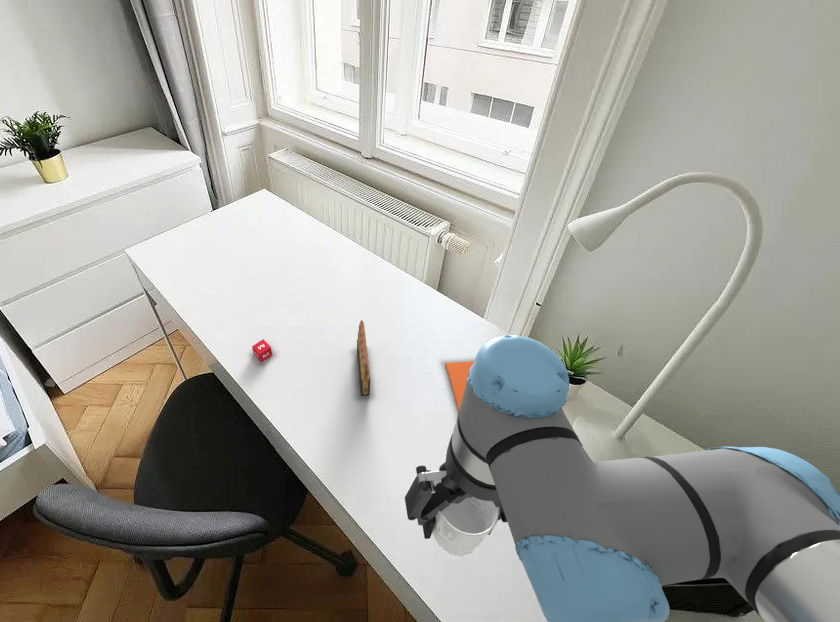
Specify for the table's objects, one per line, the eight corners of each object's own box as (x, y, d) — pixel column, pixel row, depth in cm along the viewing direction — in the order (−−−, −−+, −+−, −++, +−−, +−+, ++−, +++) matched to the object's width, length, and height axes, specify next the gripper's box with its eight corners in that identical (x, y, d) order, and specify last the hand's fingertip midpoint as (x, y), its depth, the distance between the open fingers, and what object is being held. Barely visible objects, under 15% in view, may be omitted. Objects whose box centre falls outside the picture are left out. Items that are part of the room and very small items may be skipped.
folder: (540, 433, 76) (541, 431, 76) (466, 437, 76) (466, 435, 76) (508, 360, 89) (509, 358, 88) (445, 364, 88) (445, 362, 88)
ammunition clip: (356, 352, 91) (356, 317, 84) (365, 352, 91) (365, 316, 84) (360, 396, 83) (361, 361, 75) (369, 395, 83) (371, 360, 75)
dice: (261, 362, 90) (259, 354, 88) (254, 354, 92) (251, 346, 90) (272, 355, 91) (270, 347, 89) (265, 347, 93) (263, 338, 91)
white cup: (449, 485, 62) (459, 454, 56) (495, 531, 57) (511, 503, 51) (414, 524, 58) (421, 495, 52) (460, 577, 53) (474, 552, 47)
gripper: (564, 410, 46) (516, 492, 61) (386, 421, 46) (379, 500, 60) (600, 481, 41) (537, 552, 55) (396, 494, 40) (386, 562, 54)
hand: (454, 525), depth 57 cm, fingers closed on white cup, 8 cm apart
